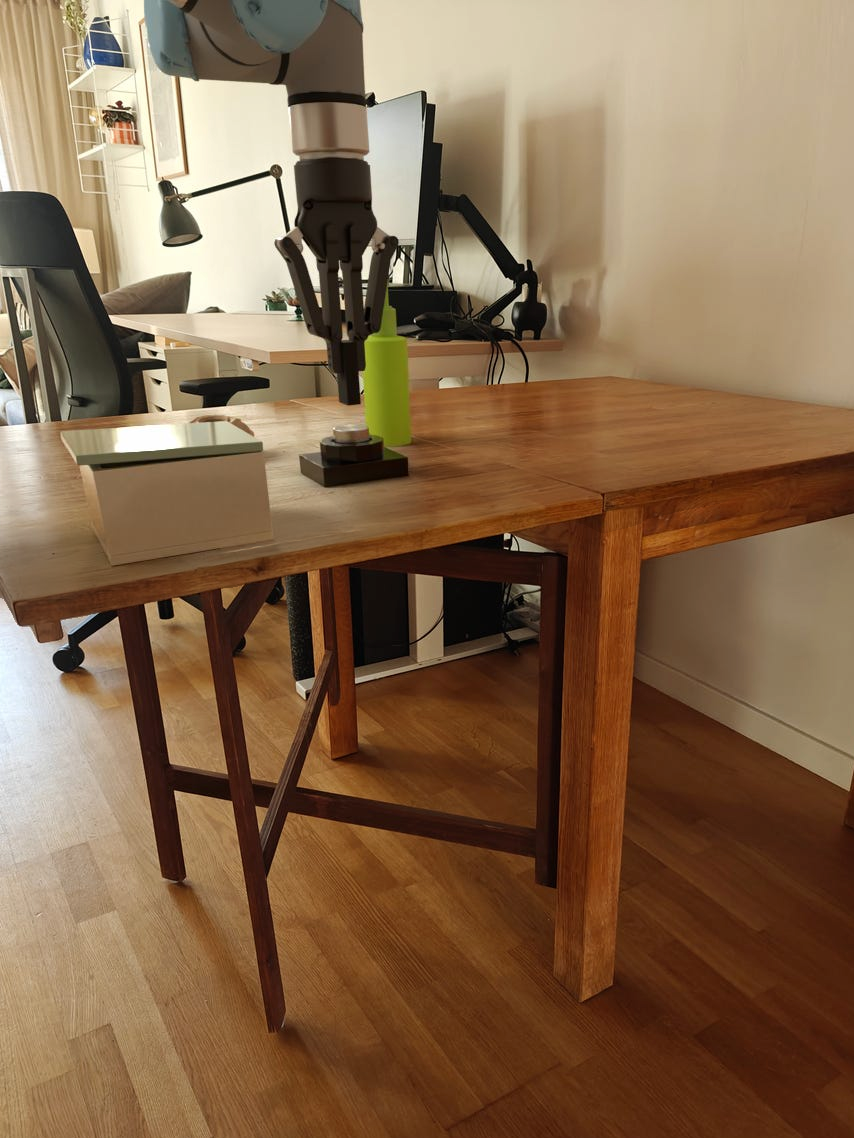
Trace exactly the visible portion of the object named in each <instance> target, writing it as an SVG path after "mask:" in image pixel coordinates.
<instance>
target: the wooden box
mask: <svg viewBox="0 0 854 1138" xmlns="http://www.w3.org/2000/svg"><path fill="white" fill-rule="evenodd" d="M264 452H265V451H264V450H263V451H257V452H245V453H232V454H219V455H207V456H194V457H182V458H169V459H156V460H144V461H131V462H119V463H106V464H94V465H81V466H79V471H80V476H81V481H82V486H83V490H84V491H83V492H84V496H85V501H86V506H87V509H88V514H89V519H90V524H91V525H90V526H91V529H92V531H93V533H94V536H95V537H96V539H97V541H98V543H99V545H100V547H101V548H102V550H103V552H104V554H105V556H106V559H107V560H108V562H109V563H110V566H111V567H114V566H120V565H126V564H132V563H140V562H145V561H151V560H156V559H164V558H168V557H176V556H181V555H188V554H193V553H199V552H204V551H205V552H206V551H211V550H217V549H222V548H228V547H233V546H234V547H235V546H239V545H246V544H253V543H257V542H258V543H259V542H264V541H269V540H271V541H272V540H274V531H273V522H272V514H271V506H270V505H271V504H270V503H271V502H270V496H269V487H268V486H269V485H268V477H267V470H266V468H267V467H266V461H265V453H264Z"/></svg>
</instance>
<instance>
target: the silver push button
mask: <svg viewBox="0 0 854 1138" xmlns="http://www.w3.org/2000/svg"><path fill="white" fill-rule="evenodd" d="M332 436H333V437H334V443H339V444H358V443H366V442H369V441H370V436H369V427H368V426H366V424H358V423H352V424H350V423H349V424H339V425H336V426H334V427H333V428H332Z"/></svg>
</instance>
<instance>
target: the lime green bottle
mask: <svg viewBox="0 0 854 1138" xmlns="http://www.w3.org/2000/svg"><path fill="white" fill-rule="evenodd" d="M389 287H390V280H388V282H387V289H386V296H385V302H384V309H383V316H382V322H381V329H380V331H379V332H378V333H373V334H371V335H369V336H368V338H367V340H366V341H365V342H364V345H365V361H366V368H365V371H361V372H362V384H363V401H364V416H365V417H364V418H365V425H366V426H368V427H369V434H370V435H377V436H380V437H382V438H383V441H384V447H386V448H391V447H392V448H393V447H401V446H402V447H403V446H406V445H409V444H411V443H412V425H411V424H412V420H411V401H410V399H411V398H410V378H409V353H408V352H409V351H408V338H407V337H404V336H401V335H398V330H397V329H398V328H397V327H398V326H397V311H396V310H397V309H396V308H394V307H393V306H392V305H389V304H390V303H389Z"/></svg>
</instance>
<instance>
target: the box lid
mask: <svg viewBox="0 0 854 1138" xmlns="http://www.w3.org/2000/svg"><path fill="white" fill-rule="evenodd" d="M59 434H60V440H61V441H62V443H63V444H64V446H65V448H66V450H67V451H68V453H69V454H70V456H71V457H72V459H73V460H74V462H75V464H76V465H77V466H78V467H80V466H81V465H94V464H106V463H119V462H131V461H144V460H156V459H169V458H182V457H194V456H207V455H219V454H232V453H245V452H257V451H263V452H264V443H263V441H262V440H260V439H258V438H256V437H255V436H254V437H253V436H251V435H250V434H248V433H246V432H245V431H243V430H241V429H240V428H238V427H236V426H235V425H233V424H231V423H229V422H228V421H219V422H203V423H189V422H188V423H173V424H172V423H171V424H157V425H156V424H155V425H140V426H125V427H109V428H92V429H91V428H89V429H75V430H62V431H60V433H59Z"/></svg>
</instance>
